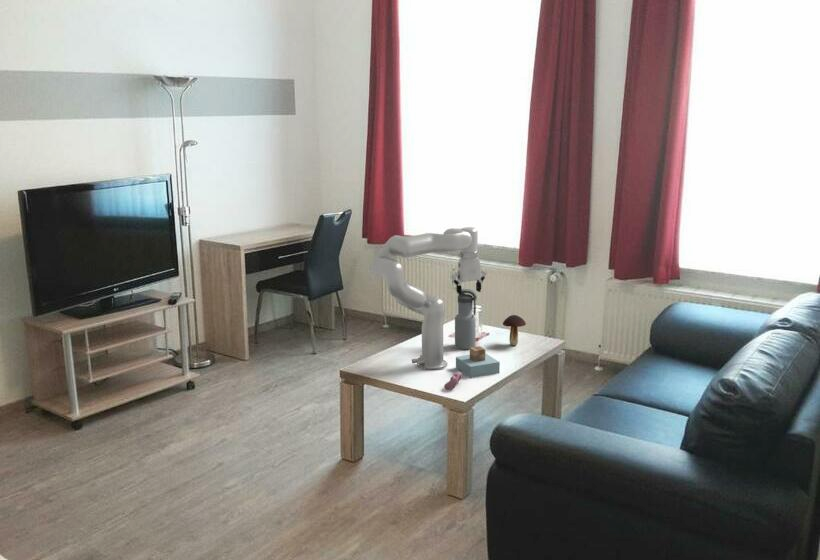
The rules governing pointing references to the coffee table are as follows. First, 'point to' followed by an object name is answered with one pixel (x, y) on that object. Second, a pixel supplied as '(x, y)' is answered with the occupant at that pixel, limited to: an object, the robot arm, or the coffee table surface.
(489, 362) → the block
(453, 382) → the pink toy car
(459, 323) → the water bottle
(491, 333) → the coffee table surface
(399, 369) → the coffee table surface
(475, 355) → the walnut cube
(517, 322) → the decorative mushroom
